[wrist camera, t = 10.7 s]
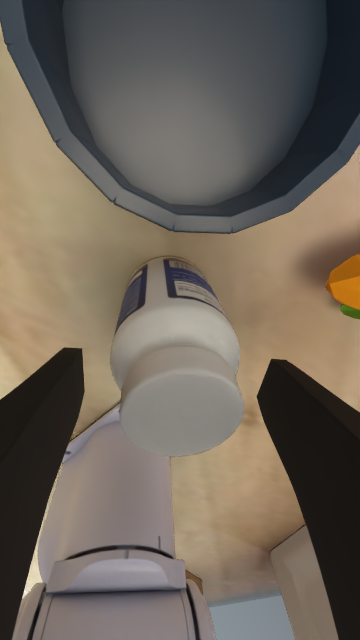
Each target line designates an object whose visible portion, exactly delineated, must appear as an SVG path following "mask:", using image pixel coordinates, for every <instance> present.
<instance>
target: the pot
mask: <svg viewBox="0 0 360 640" xmlns="http://www.w3.org/2000/svg"><path fill="white" fill-rule="evenodd" d="M0 22H1V27H2V32H3V37H4V42H5V44H6V45H7V49H8V51H9V53H10V55H11V57H12V59H13V61H14V63H15V65H16V67H17V69H18V71H19V73H20V75H21V77H22V79H23V81H24V83H25V85H26V87H27V89H28V91H29V93H30V95H31V97H32V99H33V101H34V103H35V105H36V107H37V109H38V111H39V113H40V115H41V117H42V119H43V121H44V123H45V125H46V127H47V129H48V131H49V133H50V135H51V137H52V139H53V141H54V142H55V143H56V145H57V147H58V148H59V149H60V150H61V151H62V152H63V153H64V154H65V155H66V156H67V157H68V158H69V159H70V160H71V161H72V162H73V163H74V164H75V165H76V166H77V167H78V168H79V169H80V170H81V171H82V172H83V173H84V174H85V176H86V177H87V178H88V179H89V180H90V181H91V182H92V183H93V184H94V185H95V186H96V187H97V188H98V189H99V190H100V191H101V192H102V193H103V194H104V195H105V196H106V197H107V198H108V199H109V200H110V201H111V202H112V203H114V204H115V205H117V206H119V207H121V208H123V209H125V210H127V211H129V212H131V213H134V214H136V215H138V216H140V217H142V218H144V219H146V220H148V221H150V222H153V223H155V224H157V225H159V226H161V227H163V228H165V229H167V230H170V231H174V232H191V233H221V234H231V233H236V232H239V231H241V230H244V229H246V228H249V227H252V226H254V225H257V224H259V223H262V222H265V221H267V220H270V219H272V218H275V217H278V216H280V215H283V214H285V213H288V212H290V211H292V210H293V209H294V208H295V207H297V206H298V205H299V204H300V203H301V202H302V201H304V200H305V199H306V198H307V197H308V196H309V195H311V194H312V193H313V192H314V191H315V190H316V189H318V188H319V187H320V186H321V185H322V184H323V183H325V182H326V181H327V180H328V179H329V178H330V177H332V176H333V175H334V174H335V173H336V172H337V171H339V170H340V169H341V168H342V167H343V166H344V165H345V164H346V163H347V162H348V161H349V160H350V158H351V157H352V155H353V154H354V152H355V151H356V149H357V147H358V146H359V144H360V0H0Z"/></svg>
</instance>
